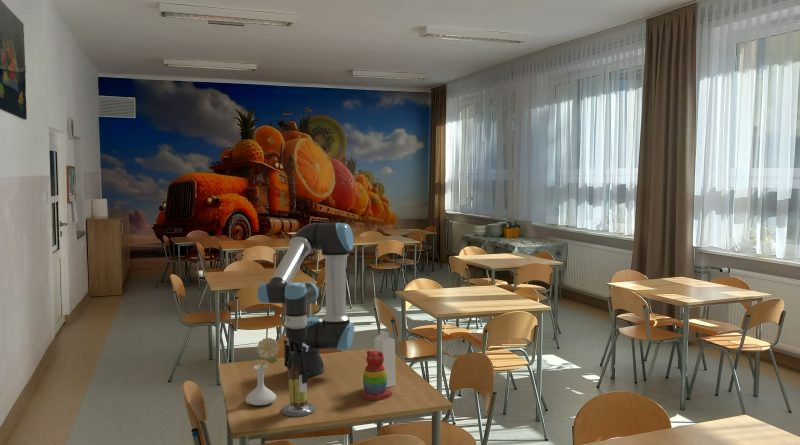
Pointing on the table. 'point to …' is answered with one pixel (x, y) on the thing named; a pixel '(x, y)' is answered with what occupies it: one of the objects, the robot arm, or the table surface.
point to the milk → (387, 355)
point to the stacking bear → (375, 377)
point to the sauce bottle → (295, 383)
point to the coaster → (298, 410)
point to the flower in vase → (261, 393)
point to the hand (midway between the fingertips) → (297, 389)
